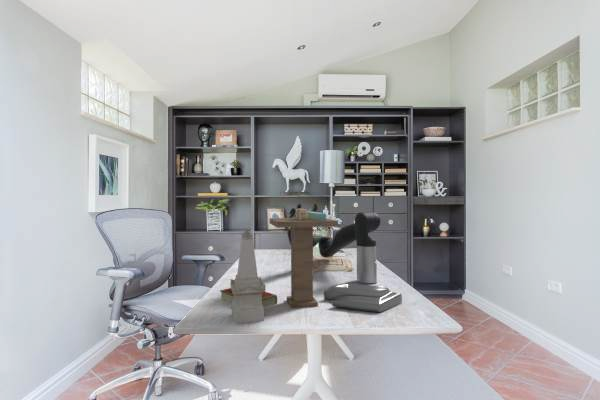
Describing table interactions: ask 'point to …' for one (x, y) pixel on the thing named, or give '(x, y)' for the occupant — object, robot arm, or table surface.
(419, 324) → the table surface
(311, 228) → the shelf stand
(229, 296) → the hardcover book
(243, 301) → the miniature monument
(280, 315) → the table surface
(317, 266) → the mottled tan slab
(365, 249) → the robot arm
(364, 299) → the striped bevelled slab
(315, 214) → the slat
